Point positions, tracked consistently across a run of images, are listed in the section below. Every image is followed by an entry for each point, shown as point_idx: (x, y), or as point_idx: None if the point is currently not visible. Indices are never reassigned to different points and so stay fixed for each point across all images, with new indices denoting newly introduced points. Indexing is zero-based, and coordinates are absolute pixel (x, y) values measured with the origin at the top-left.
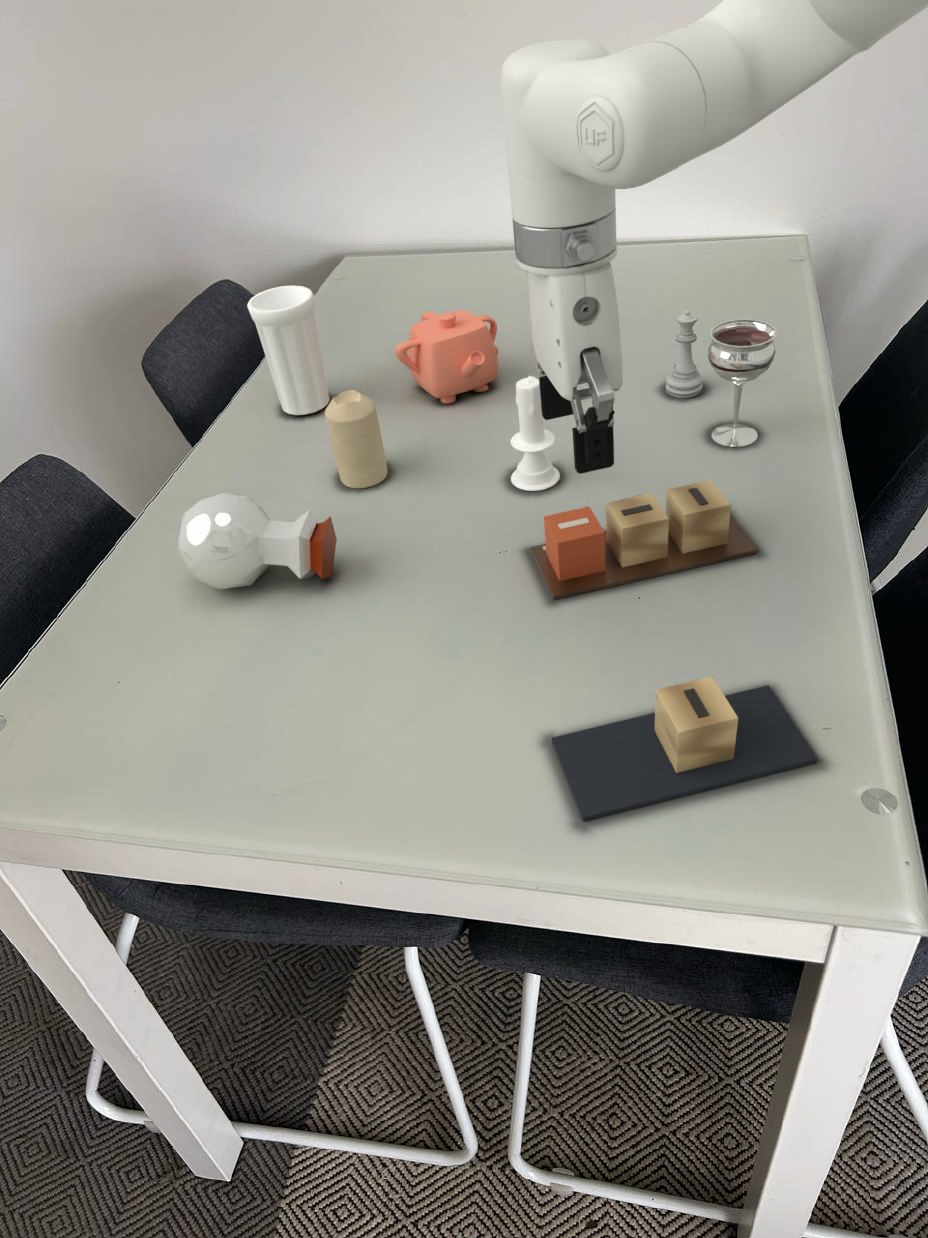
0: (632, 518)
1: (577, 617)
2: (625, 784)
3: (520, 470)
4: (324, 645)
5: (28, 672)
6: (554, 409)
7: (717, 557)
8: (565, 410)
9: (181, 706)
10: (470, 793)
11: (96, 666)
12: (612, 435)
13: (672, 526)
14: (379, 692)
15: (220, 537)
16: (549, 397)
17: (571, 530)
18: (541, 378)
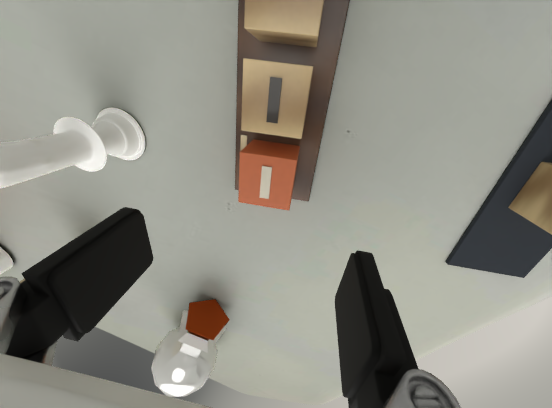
0: (288, 116)
1: (339, 192)
2: (529, 247)
3: (117, 155)
4: (277, 318)
5: (237, 389)
6: (138, 259)
7: (347, 2)
8: (138, 237)
9: (289, 365)
10: (442, 307)
11: (244, 377)
12: (392, 317)
13: (280, 40)
14: (332, 312)
15: (200, 384)
16: (118, 289)
17: (275, 189)
18: (73, 338)
